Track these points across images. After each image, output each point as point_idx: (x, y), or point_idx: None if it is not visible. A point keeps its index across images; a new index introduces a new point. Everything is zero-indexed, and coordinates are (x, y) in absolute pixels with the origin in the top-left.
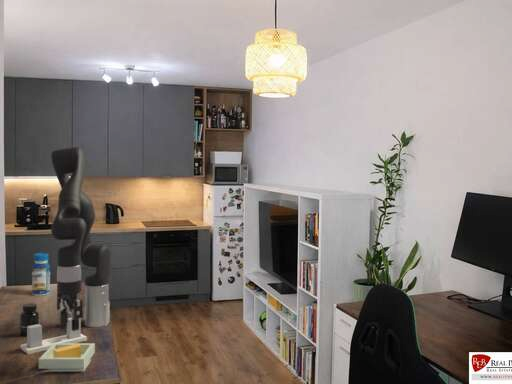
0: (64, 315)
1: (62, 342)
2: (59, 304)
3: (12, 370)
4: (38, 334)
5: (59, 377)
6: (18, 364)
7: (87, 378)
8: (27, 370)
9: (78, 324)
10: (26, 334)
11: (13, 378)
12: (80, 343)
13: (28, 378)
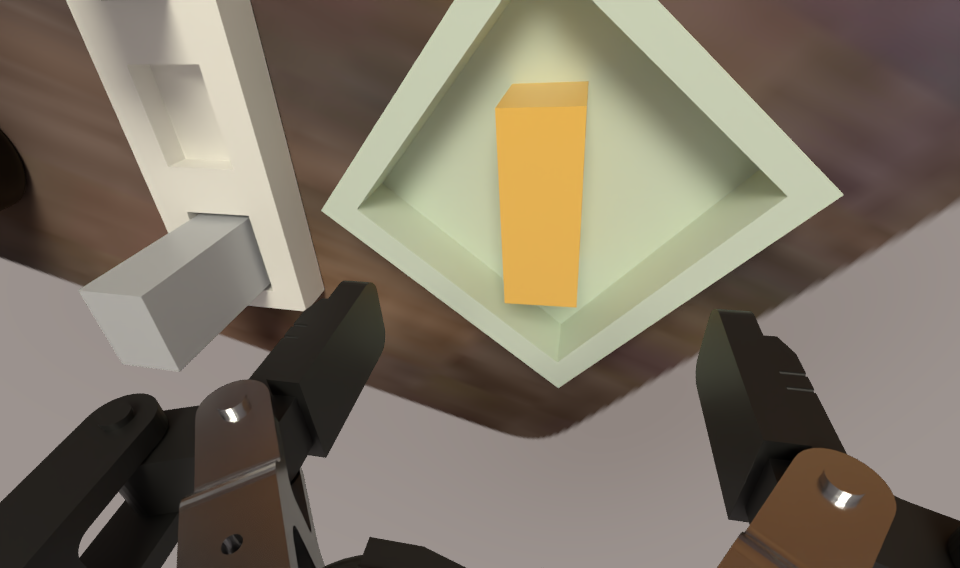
0: (332, 392)
1: (237, 86)
2: (144, 564)
3: (461, 394)
4: (198, 285)
5: (736, 304)
6: (402, 353)
7: (942, 194)
8: (506, 359)
9: (812, 392)
10: (2, 196)
11: (556, 426)
12: (440, 29)
13: (608, 394)
